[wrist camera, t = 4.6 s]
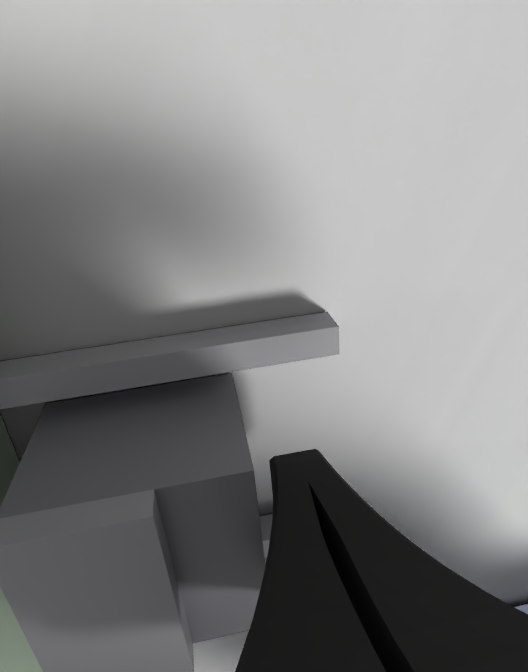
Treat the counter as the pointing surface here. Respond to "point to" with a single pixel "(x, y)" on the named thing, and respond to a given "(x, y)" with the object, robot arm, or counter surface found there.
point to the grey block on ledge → (133, 529)
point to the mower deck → (141, 370)
